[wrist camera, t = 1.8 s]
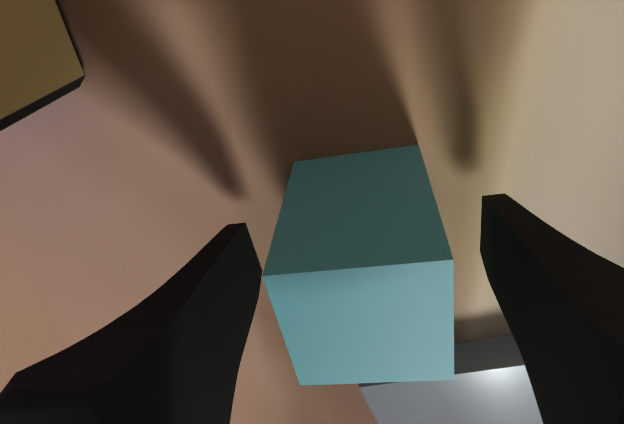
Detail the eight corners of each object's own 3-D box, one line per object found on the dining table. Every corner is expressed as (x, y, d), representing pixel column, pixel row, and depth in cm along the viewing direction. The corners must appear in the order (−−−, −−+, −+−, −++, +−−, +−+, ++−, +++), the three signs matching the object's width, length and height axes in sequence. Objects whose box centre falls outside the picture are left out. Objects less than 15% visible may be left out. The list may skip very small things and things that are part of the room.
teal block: (418, 143, 13) (453, 259, 8) (424, 244, 15) (454, 379, 10) (294, 161, 13) (261, 276, 9) (316, 254, 16) (300, 385, 11)
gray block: (569, 314, 17) (592, 355, 15) (576, 429, 21) (594, 471, 20) (358, 348, 19) (359, 387, 18) (405, 445, 24) (408, 483, 22)
